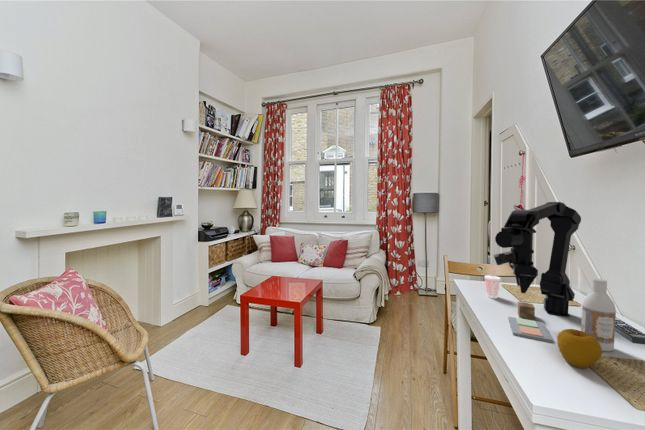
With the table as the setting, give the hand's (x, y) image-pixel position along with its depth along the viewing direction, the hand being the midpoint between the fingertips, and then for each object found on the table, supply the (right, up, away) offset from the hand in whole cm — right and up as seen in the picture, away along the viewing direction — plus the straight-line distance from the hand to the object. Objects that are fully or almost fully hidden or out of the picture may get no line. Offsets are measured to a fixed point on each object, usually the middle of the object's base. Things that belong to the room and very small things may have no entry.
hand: (521, 289), depth 97 cm
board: (-2, -12, -5) cm, 13 cm away
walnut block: (+6, -12, +5) cm, 14 cm away
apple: (-3, -13, -25) cm, 28 cm away
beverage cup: (+6, -11, +27) cm, 30 cm away
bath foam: (+11, -13, -16) cm, 23 cm away
